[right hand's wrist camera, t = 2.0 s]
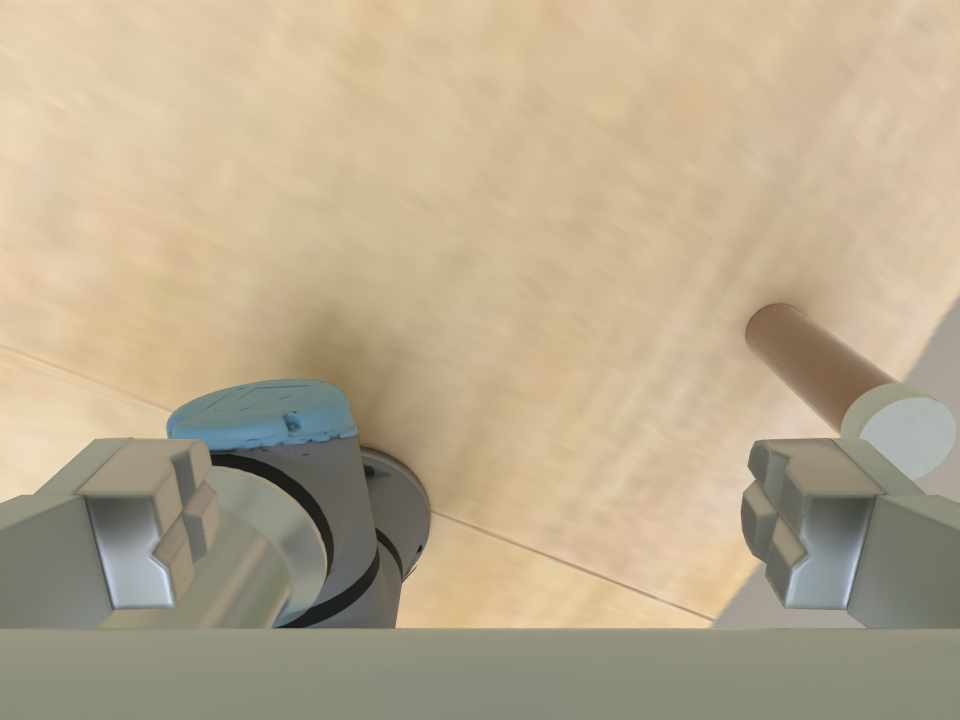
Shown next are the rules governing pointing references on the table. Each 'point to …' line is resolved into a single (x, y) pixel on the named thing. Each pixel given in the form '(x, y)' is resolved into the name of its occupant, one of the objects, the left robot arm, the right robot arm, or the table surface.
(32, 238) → the table surface
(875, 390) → the lid
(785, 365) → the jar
